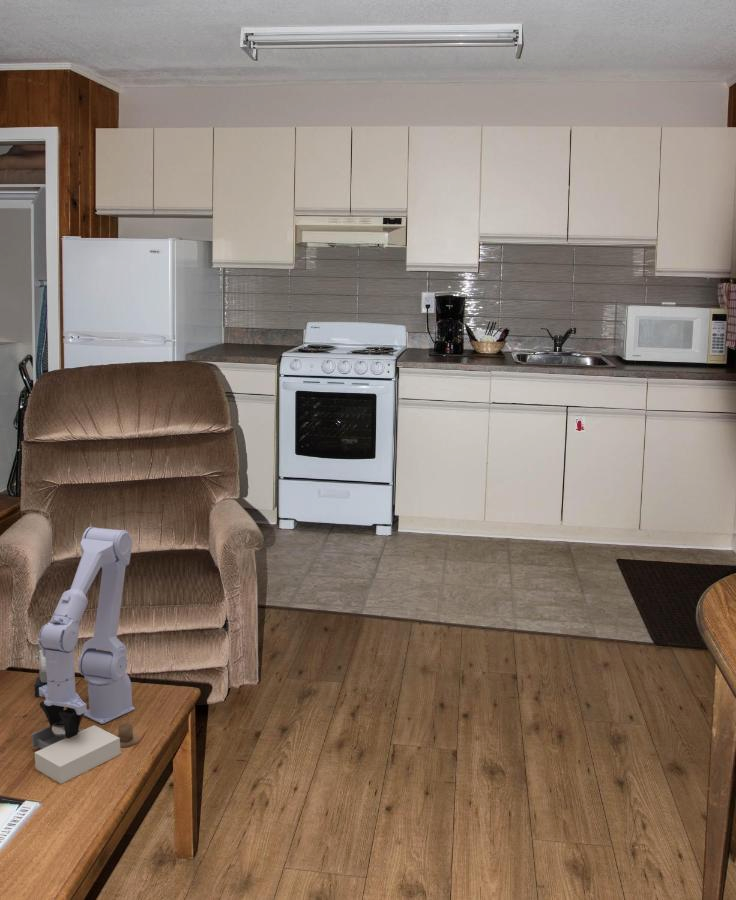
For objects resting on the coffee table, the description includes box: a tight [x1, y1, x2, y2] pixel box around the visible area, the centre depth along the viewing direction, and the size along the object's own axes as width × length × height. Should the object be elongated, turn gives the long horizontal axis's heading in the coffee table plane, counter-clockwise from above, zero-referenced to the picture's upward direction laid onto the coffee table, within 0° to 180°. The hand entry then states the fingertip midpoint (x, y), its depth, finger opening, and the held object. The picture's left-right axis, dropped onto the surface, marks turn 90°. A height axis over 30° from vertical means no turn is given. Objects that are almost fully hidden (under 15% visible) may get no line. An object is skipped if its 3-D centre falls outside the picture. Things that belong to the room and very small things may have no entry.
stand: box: [116, 722, 140, 749], centre depth 210 cm, size 6×6×4 cm
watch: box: [34, 649, 47, 698], centre depth 232 cm, size 6×8×11 cm
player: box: [34, 725, 121, 785], centre depth 201 cm, size 9×15×4 cm, turn 142°
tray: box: [30, 725, 83, 750], centre depth 207 cm, size 9×10×3 cm
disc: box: [52, 720, 66, 737], centre depth 206 cm, size 5×5×1 cm
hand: (64, 734), depth 206 cm, fingers closed on disc, 5 cm apart
